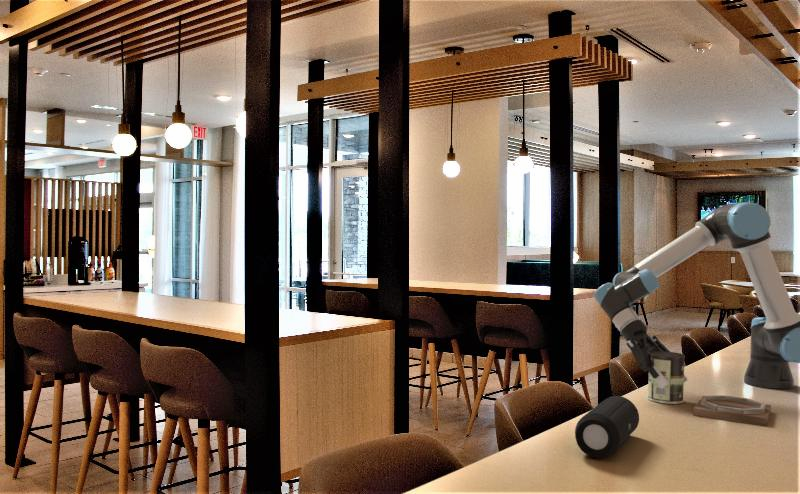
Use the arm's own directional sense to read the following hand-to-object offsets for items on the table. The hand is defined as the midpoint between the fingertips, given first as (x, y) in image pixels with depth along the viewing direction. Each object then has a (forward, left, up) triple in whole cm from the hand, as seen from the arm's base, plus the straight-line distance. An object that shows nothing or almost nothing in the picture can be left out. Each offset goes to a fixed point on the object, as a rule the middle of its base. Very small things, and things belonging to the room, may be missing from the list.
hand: (675, 384), depth 207 cm
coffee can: (-1, -3, -6) cm, 6 cm away
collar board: (+4, +16, -5) cm, 17 cm away
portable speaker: (+56, -5, -6) cm, 57 cm away
